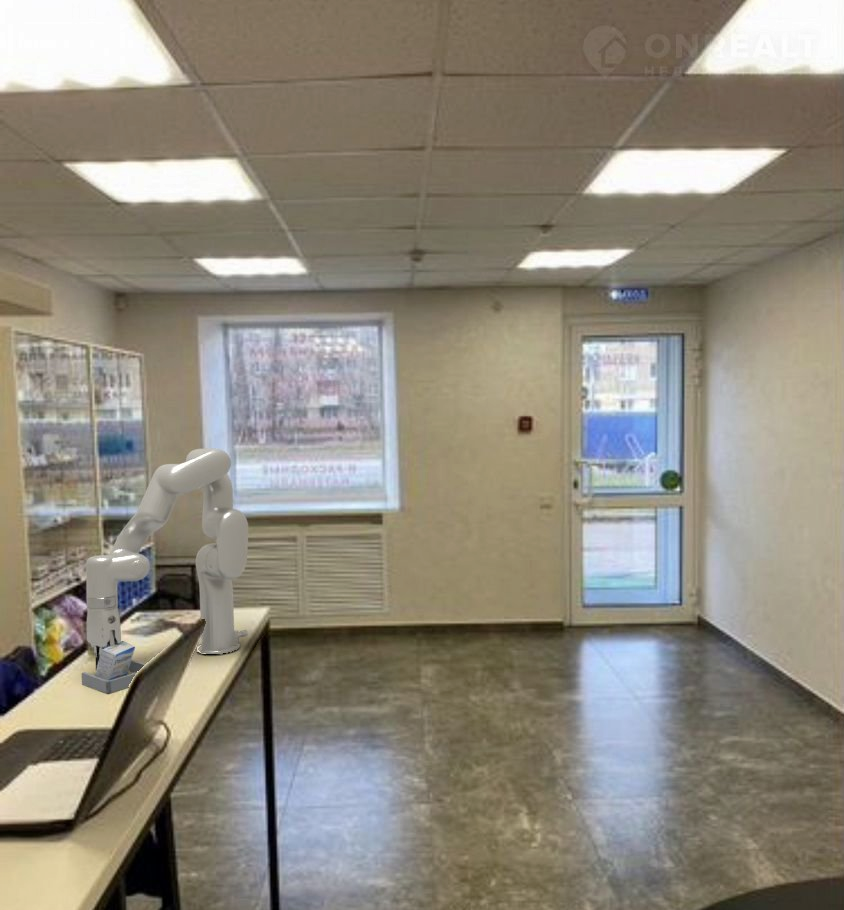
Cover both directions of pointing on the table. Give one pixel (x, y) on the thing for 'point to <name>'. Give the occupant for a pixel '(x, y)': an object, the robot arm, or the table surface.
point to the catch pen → (113, 684)
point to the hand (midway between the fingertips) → (103, 671)
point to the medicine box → (115, 661)
